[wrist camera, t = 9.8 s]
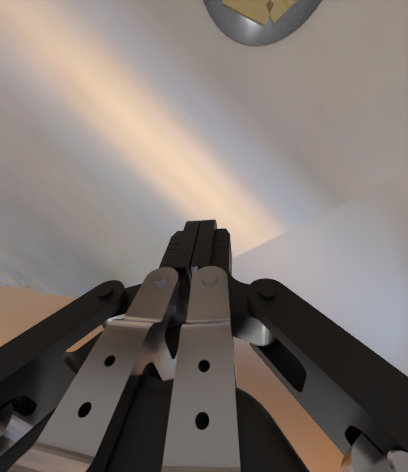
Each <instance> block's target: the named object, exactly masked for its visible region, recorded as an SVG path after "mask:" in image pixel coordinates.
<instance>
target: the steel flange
mask: <svg viewBox="0 0 408 472" xmlns="http://www.w3.org/2000/svg"><path fill="white" fill-rule="evenodd" d="M203 1H204V4H205V6H206V8H207V10H208V13H209V15H210V16H211V18H212V20H213V21H214V23H215V24H216V25H217V27H218V28H219V29H220V30H221V31H222V32H223V33H224V34H225V35H226V36H227V37H229V38H230V39H232V40H234V41H235V42H238V43H240V44H243V45H247V46H266V45H269V44H273V43H276V42H278V41H280V40H282V39H284V38H285V37H287V36H289V35H290V34H292V33H293V32H294V31H295V30H297V29H298V28H299V27H300V26H301V25H302V24H303V23H304V22H305V21H306V20H307V19H308V18H309V17H310V16H311V15H312V13H313V12H314V11H315V10H316V9H317V7H318V6H319V4H320V3H321V1H322V0H298V1H297V2H296V3H295V4H294V5H293V6H292V7H291V8H290V9H289V10H288V11H286V12H285V13H284V14H283V15H282V16H281V17H280V18H279V19H278V20H277V21H276V22H275V23H274V24H273V25H272V24H271V22H270V20H269V18H268V20H267V22H266V25H265V27H263V26H261V25H259V24H257V23H255V22H253V21H251V20H249V19H247V18H245V17H243V16H241V15H239V14H237V13H235V12H233V11H232V10H230V9H228V8H226V7H224V6H223V4H222V2H223V0H203ZM269 1H270V0H269Z"/></svg>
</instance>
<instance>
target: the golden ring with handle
mask: <svg viewBox="0 0 408 472" xmlns="http://www.w3.org/2000/svg"><path fill="white" fill-rule="evenodd" d="M297 1H298V0H270V1H269V0H223V2H222V4H223V6H224V7H226V8H228V9H230V10H232V11H233V12H235V13H237V14H239V15H241V16H243V17H245V18H247V19H249V20H251V21H253V22H255V23H257V24H259V25H261V26H263V27H265V25H266V22H267V20H268V18H269V20H270V22H271V24H272V25H273V24H274V23H275V22H276V21H277V20H278V19H279V18H280V17H281V16H282V15H283V14H284V13H285V12H286V11H288V10H289V9H290V8H291V7H292V6H293V5H294V4H295V3H296V2H297Z"/></svg>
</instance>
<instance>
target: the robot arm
mask: <svg viewBox="0 0 408 472" xmlns="http://www.w3.org/2000/svg"><path fill="white" fill-rule="evenodd" d="M100 325H102V326H103V328H104V330H103V331H102V332H100V333H99V334H98V335H97V336H95V337H94V338H92V339H91V340H90V341H88V342H87V343H86V344H85V345H83V346H82V347H80V348H79V349H78V350H76V351H74V352H66V350H67V349H68V348H70V347H71V346H72V345H74V344H75V343H76V342H78V341H79V340H80V339H82V338H83V337H85V336H86V335H87V334H89V333H90V332H91V331H93V330H94V329H95V328H97V327H98V326H100ZM233 336H234V337H236V338H239V339H242V340H244V341H247V342H249V343H250V345H251V347H252V348H253V350H254V351H255V352H256V353H257V354H258V356H259V357H260V358H261V359H262V360H263V361H264V362H265V364H266V365H267V366H268V367H269V368H270V370H271V371H272V372H273V373H274V374H275V375H276V376H277V378H278V379H279V380H280V381H281V382H282V384H283V385H284V386H285V387H286V388H287V389H288V390H289V392H290V393H291V394H292V395H293V396H294V398H295V399H296V400H297V401H298V402H299V403H300V405H301V406H302V407H303V408H304V409H305V410H306V412H307V413H308V414H309V415H310V416H311V417H312V419H313V420H314V421H315V422H316V423H317V424H318V426H319V427H320V428H321V429H322V430H323V431H324V433H325V434H326V435H327V436H328V437H329V438H330V440H331V441H332V442H333V443H334V444H335V445H336V446H337V448H338V449H339V450H340V451H341V452H342V454H343V455H344V457H343V459H342V463H341V472H408V377H407V376H406V375H405V374H403V373H402V372H401V371H399V370H398V369H397V368H395V367H394V366H392V365H391V364H390V363H388V362H387V361H386V360H384V359H383V358H382V357H380V356H379V355H378V354H376V353H375V352H374V351H372V350H371V349H370V348H368V347H367V346H365V345H364V344H363V343H361V342H360V341H359V340H357V339H356V338H354V337H353V336H351V334H349V333H348V332H347V331H345V330H344V329H342V328H341V327H340V326H338V325H337V324H336V323H334V322H333V321H332V320H330V319H329V318H327V317H326V316H325V315H324V314H322V313H321V312H319V311H318V310H317V309H315V308H314V307H313V306H311V305H310V304H309V303H307V302H306V301H305V300H303V299H302V298H300V297H299V296H298V295H296V294H295V293H294V292H292V291H291V290H290V289H288V288H287V287H286V286H284V285H283V284H281V283H280V282H278V281H276V280H273V279H258V280H256V281H254V282H252V283H251V284H250V285H249V284H244V283H241V282H239V281H237V280H235V279H234V278H233V277H232V254H231V242H230V234H229V232H228V231H227V229H217V224H216V220H202V221H187V222H186V224H185V227H184V230H183V231H177V232H176V233H175V234H174V235H173V236H172V237H171V239H170V242H169V245H168V247H167V250H166V251H165V254H164V256H163V259H162V261H161V264H160V266H159V268H158V269H156V270H154V271H152V272H151V273H149V274H148V275H147V276H146V278H145V280H144V282H143V283H142V284H139V285H136V286H132V287H128V288H125V287H124V285H123V284H122V283H121V282H120V281H116V280H112V281H107V282H104V283H102V284H100V285H98V286H97V287H95V288H94V289H92V290H90V291H89V292H87V293H86V294H84V295H82V296H81V297H79V298H78V299H76V300H74V301H73V302H71V303H70V304H68V305H66V306H65V307H63V308H62V309H60V310H59V311H57V312H56V313H54V314H52V315H51V316H49V317H47V318H46V319H44V320H43V321H41V322H39V323H38V324H36V325H35V326H33V327H32V328H30V329H28V330H27V331H25V332H24V333H22V334H20V335H19V336H17V337H15V338H14V339H12V340H11V341H9V342H8V343H6V344H4V345H3V346H1V347H0V472H309V470H308V469H307V467H306V466H305V464H304V463H303V461H302V460H301V459H300V457H299V456H298V454H297V453H296V451H295V450H294V448H293V447H292V445H291V444H290V443H289V441H288V440H287V438H286V437H285V435H284V434H283V432H282V431H281V429H280V428H279V427H278V425H277V423H276V422H275V420H274V419H273V418H272V416H271V415H270V414H269V412H268V411H267V410H266V409H265V408H264V407H263V406H262V405H261V404H260V403H259V402H258V401H257V400H256V399H255V398H253V397H252V396H251V395H250V394H248V393H247V392H245V391H243V390H241V389H239V388H237V377H236V366H235V354H234V342H233V341H234V340H233Z"/></svg>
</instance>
